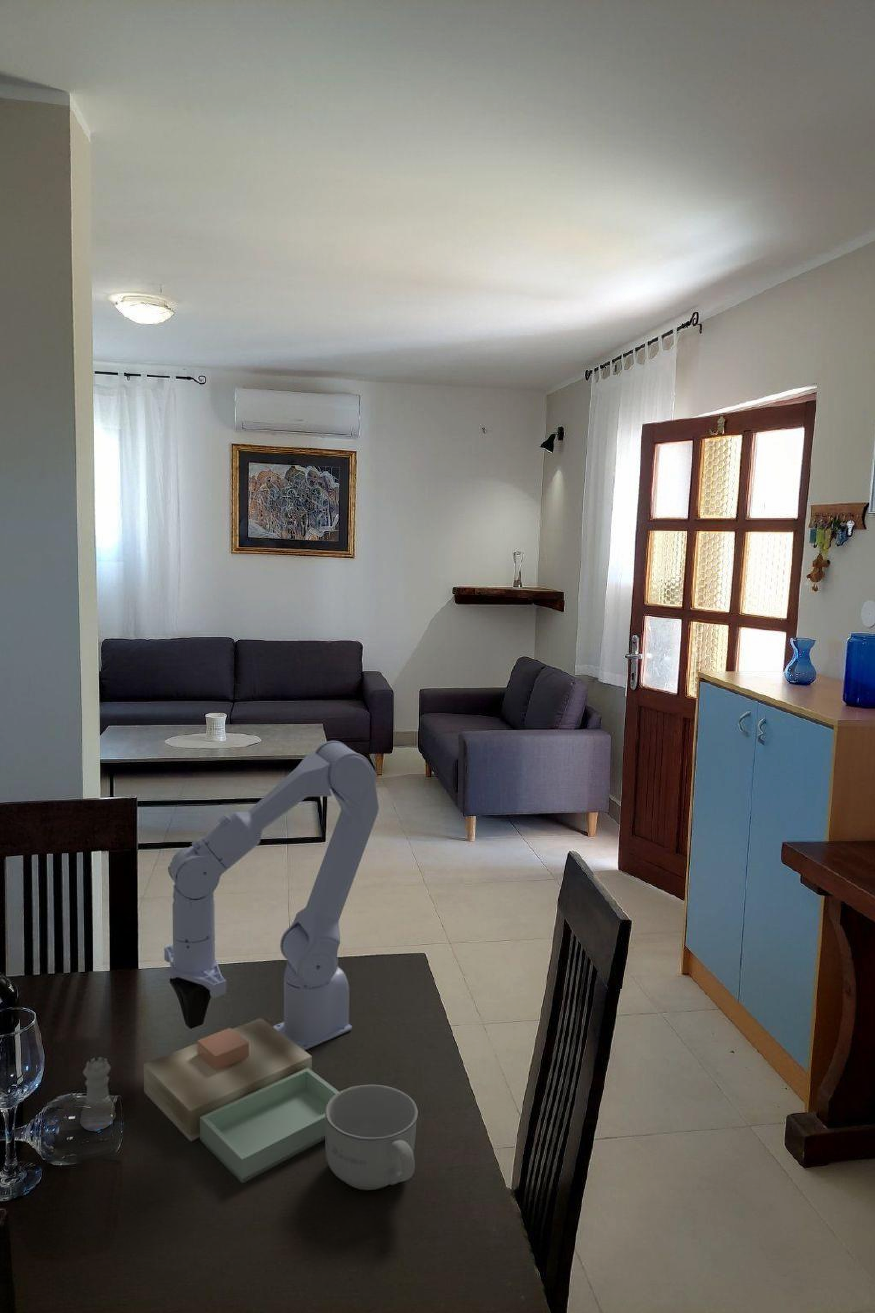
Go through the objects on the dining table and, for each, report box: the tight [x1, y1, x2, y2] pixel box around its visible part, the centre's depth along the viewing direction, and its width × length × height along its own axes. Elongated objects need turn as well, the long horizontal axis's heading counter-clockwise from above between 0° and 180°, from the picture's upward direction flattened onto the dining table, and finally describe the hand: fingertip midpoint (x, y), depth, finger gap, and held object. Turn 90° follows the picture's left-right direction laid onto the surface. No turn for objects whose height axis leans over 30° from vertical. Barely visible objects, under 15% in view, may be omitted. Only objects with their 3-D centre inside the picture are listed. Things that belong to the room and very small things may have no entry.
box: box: [199, 1068, 340, 1184], centre depth 111 cm, size 16×10×3 cm, turn 133°
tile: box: [196, 1027, 249, 1070], centre depth 120 cm, size 5×5×2 cm
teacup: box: [324, 1084, 419, 1191], centre depth 102 cm, size 14×11×8 cm
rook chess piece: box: [82, 1056, 112, 1102], centre depth 111 cm, size 4×4×8 cm
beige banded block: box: [143, 1017, 313, 1142], centre depth 119 cm, size 18×13×4 cm
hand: (194, 1024), depth 126 cm, fingers closed
